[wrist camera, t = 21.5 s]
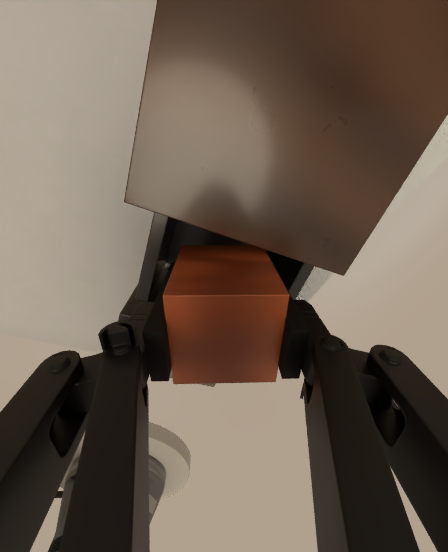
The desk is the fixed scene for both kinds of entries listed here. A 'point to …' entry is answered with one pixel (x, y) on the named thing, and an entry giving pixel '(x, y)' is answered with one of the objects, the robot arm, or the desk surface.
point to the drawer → (175, 233)
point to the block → (224, 315)
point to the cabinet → (288, 117)
